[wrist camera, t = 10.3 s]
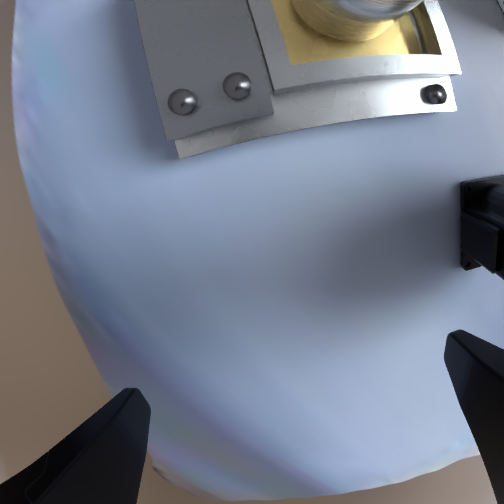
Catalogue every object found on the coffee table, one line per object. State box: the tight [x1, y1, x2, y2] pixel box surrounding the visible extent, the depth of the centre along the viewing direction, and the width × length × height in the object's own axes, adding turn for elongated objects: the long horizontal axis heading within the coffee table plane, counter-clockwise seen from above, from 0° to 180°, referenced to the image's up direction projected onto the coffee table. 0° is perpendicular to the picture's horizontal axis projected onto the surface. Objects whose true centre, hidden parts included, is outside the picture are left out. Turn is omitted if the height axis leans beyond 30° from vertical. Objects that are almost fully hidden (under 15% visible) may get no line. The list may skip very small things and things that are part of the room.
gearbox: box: [134, 0, 462, 159], centre depth 11 cm, size 16×14×5 cm
